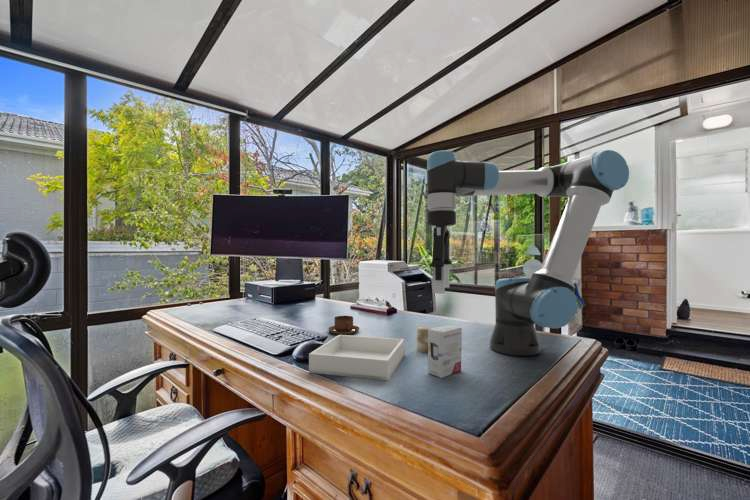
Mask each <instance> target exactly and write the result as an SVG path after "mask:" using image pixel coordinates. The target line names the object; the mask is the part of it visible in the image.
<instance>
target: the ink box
mask: <svg viewBox="0 0 750 500" xmlns="http://www.w3.org/2000/svg"><path fill="white" fill-rule="evenodd" d="M430 328H431V329H428V352H427V373H428V374H430V375H433V376H436V377H438V378H440V379H443V378H446V377H448V376H450V375H452V374H455V373H458V372H461V370H462V341H463V339H462V338H463V336H462V335H463V333H462V332H463V331H462V330H463V328H462V327H461V326H454V325H450V324H447V325H442V326H437V327H430Z"/></svg>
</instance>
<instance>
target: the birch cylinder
mask: <svg viewBox="0 0 750 500" xmlns="http://www.w3.org/2000/svg"><path fill="white" fill-rule="evenodd" d="M431 328H432V327H430V326H421V327H420V326H419V327H416V351H417V352H419V353H428V329H431Z"/></svg>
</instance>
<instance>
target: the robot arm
mask: <svg viewBox="0 0 750 500" xmlns="http://www.w3.org/2000/svg"><path fill="white" fill-rule="evenodd" d="M456 156H457V155H456V153H455V152H454V151H450V150H443V149H442V150H437V151H433V152H431V153H429V155H428V156H427V162H426V163H427V164H426V183H427V185H426V187H427V188H426V190H427V194H426V195H427V198H425V202H424V203H427V210H429V211H428V212H427V220H426V221H427V222H426V223H427V225H428V226H429V227H433V229H432V230H433V233H432V234H433V235H432V236H433V244H432V246H433V247H432V259H431V260H432V261H431V262H430V263H429V266H430V268H432V272H433V273H432V277H433V278H432V280H433V281H432V283H433V284H432V288H433V291H432V293H433V294H441V295H442V294H443V295H444V294H445V291H446V288H447V289H450V265H453V262H452V260H451V259H450V237H451V233H450V231H449V229H448V226H449V227H450V226H452V227H453V226H456V224H457V212H456V211H455V210H456V209H457V197H470V196H471V197H473V196H498V195H499V196H501V195H503V196H505V195H506V196H507V195H511V196H512V195H533V194H536V195H537V196H539V197H542V198H544V197H554V198H556V197H557V198H559V197H560V198H568V200H567V203H566V205H565V208H564V210H563V213H562V215H561V217H560V220H559V222H558V225H557V228H556V229H555V233H554V235H553V238H552V240H551V243H550V245H549V247H548V250H547V253H546V255H545V258H544V260H543V263H542V264H541V267H540V269H539V270H537V271H535V272H532V273H531V277H511V278H500V279H497V280H496V282H495V288H494V292H495V294H494V295H495V301H494V302H495V308H494V309H495V325H494V328H493V331H492V334H491V336H490V340H489V348H490V349H491V350H493V351H494V352H497V353H500V354H504V355H509V356H510V355H511V356H521V357H522V356H523V357H524V356H527V357H528V356H534V355H538V354H540V353H541V343H540V341H539V337H538V334H537V331H536V328H535V325H536V326H540V327H542V328H549V329H560V328H563V327H565V326H568V324H569V323H570V324H571V322H572V321H573V319H574V318H575V317H576V315H577V314H578V313H577V312H578V307H579V303H578V302H577V301H578V298H577V296H576V294H575V290H576V286H575V284H574V283H573V279H574V276H575V273H576V271H577V268H578V266H579V264H580V260H581V258H582V256H583V252H584V250H585V248H586V246H587V243H588V240H589V238H590V236H591V234H592V233H591V232H592V230H593V228H594V224H595V223H596V219H597V217H598V214H599V213H600V210H601V207H603V206H604V205H607V204H609V203H610V201H611V199H612V196H613V192H614V191H618V190H620V189H622V188H624V187H625V186H626V185H627V184H628V181H629V178H630V169H629V165H628V163H627V160H626V159H625V158H624V157H623V156H622V155H621V154H620V153H619V152H617V151H616V150H612V149H606V150H602V151H596V152H594V153H592V154H589V155H585V156H582V157H579V158H576V159H573V160H569V161H566V162H564V163H561V164H557V165H556V164H555V165H554V166H553V165H552V166H543V167H540V168H538V169H536V170H535V169H533V170H531V169H528V170H526V169H525V170H499V167H498V165H496V164H495V163H493V162H486V161H464V160H458V159H457V157H456Z"/></svg>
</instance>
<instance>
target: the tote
mask: <svg viewBox="0 0 750 500" xmlns="http://www.w3.org/2000/svg"><path fill="white" fill-rule="evenodd" d="M405 352H406V350H405V338H393V337H392V338H391V337H378V336H365V335H364V336H363V335H352V334H348V335H338V334H337V335H336V336H334V337H333V338H331V339H329V341H327V342H325V343H324V344H322V345H320V346H319V347H317V348H316V349H314V350H313V351H311V352H310V353H308V373H309V374H319V375H330V376H331V375H332V376H339V377H348V378H357V379H358V378H360V379H368V380H369V379H370V380H378V381H379V380H380V381H386V382H387V381H389V380H390V378H391V377H392V375H393V374H394V372H395V371H396V369H397V368H398V366H399V365H400V363H401V361H402V360H403V358H404V357H405V354H406V353H405Z"/></svg>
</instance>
